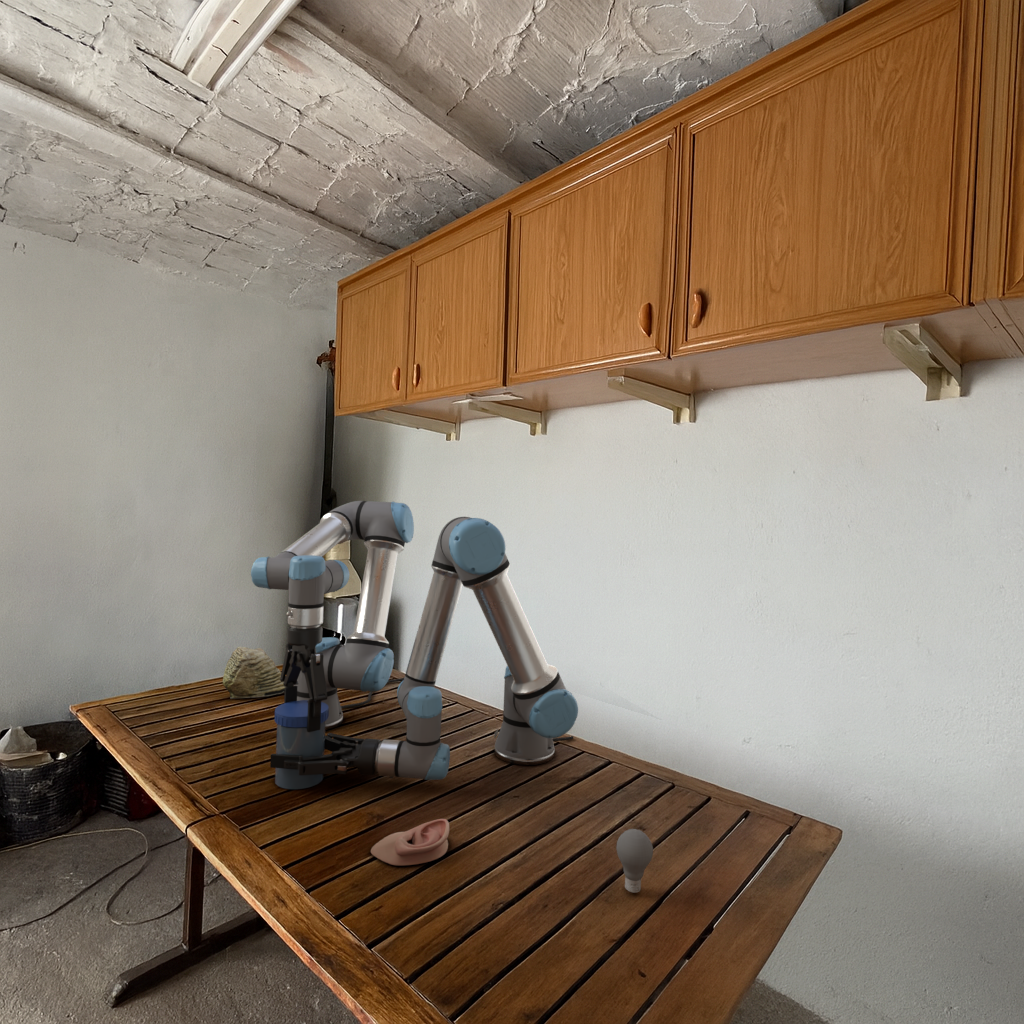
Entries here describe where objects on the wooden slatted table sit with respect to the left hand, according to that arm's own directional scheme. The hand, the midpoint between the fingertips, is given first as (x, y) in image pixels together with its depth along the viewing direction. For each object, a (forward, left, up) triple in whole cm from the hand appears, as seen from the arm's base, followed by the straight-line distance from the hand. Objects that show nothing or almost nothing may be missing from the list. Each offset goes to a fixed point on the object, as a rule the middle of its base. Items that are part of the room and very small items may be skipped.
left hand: (301, 722), depth 141 cm
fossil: (-23, -61, -13) cm, 67 cm away
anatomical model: (+2, +39, -13) cm, 41 cm away
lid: (0, 0, +3) cm, 3 cm away
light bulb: (-14, +75, -13) cm, 78 cm away
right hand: (+2, -3, -7) cm, 8 cm away
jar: (0, 0, -13) cm, 13 cm away
